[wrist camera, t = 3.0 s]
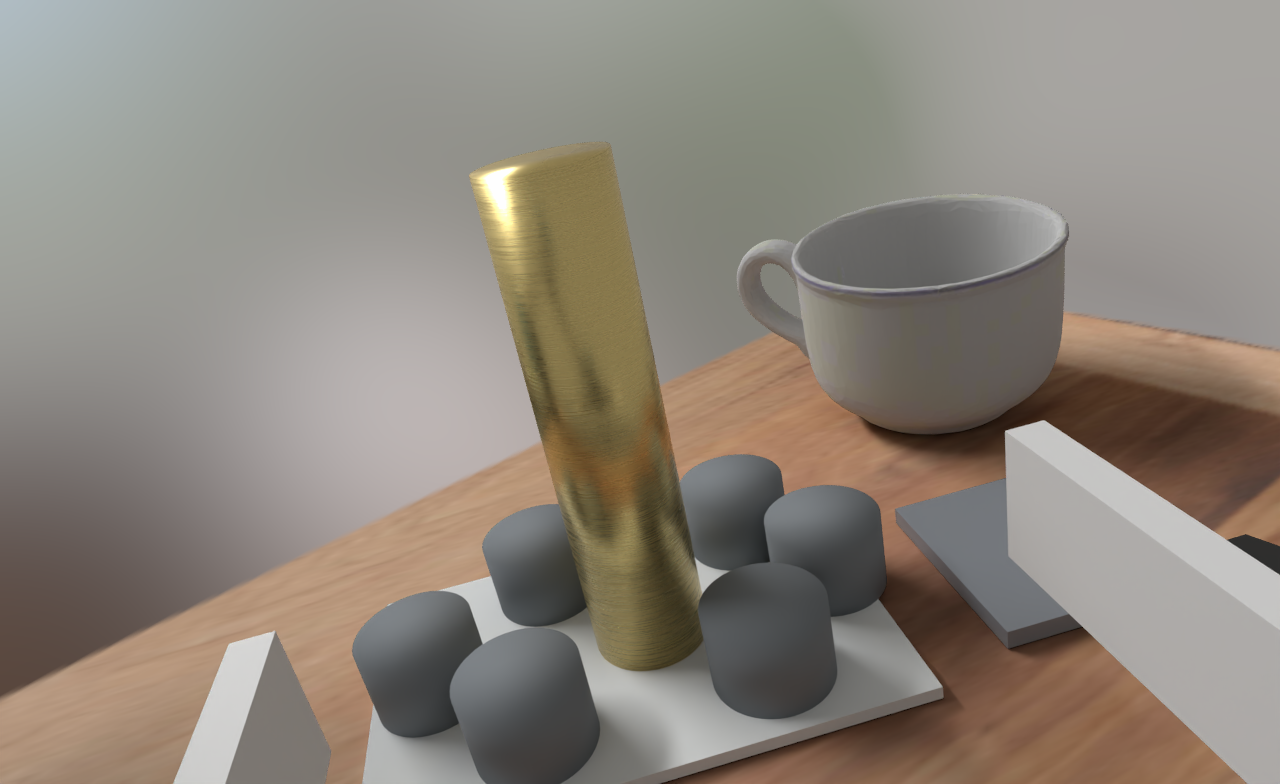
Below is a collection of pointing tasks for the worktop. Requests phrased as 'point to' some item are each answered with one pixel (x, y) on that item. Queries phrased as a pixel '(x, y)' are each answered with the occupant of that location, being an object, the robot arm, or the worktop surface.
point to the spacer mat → (644, 700)
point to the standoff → (595, 394)
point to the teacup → (923, 307)
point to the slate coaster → (983, 562)
